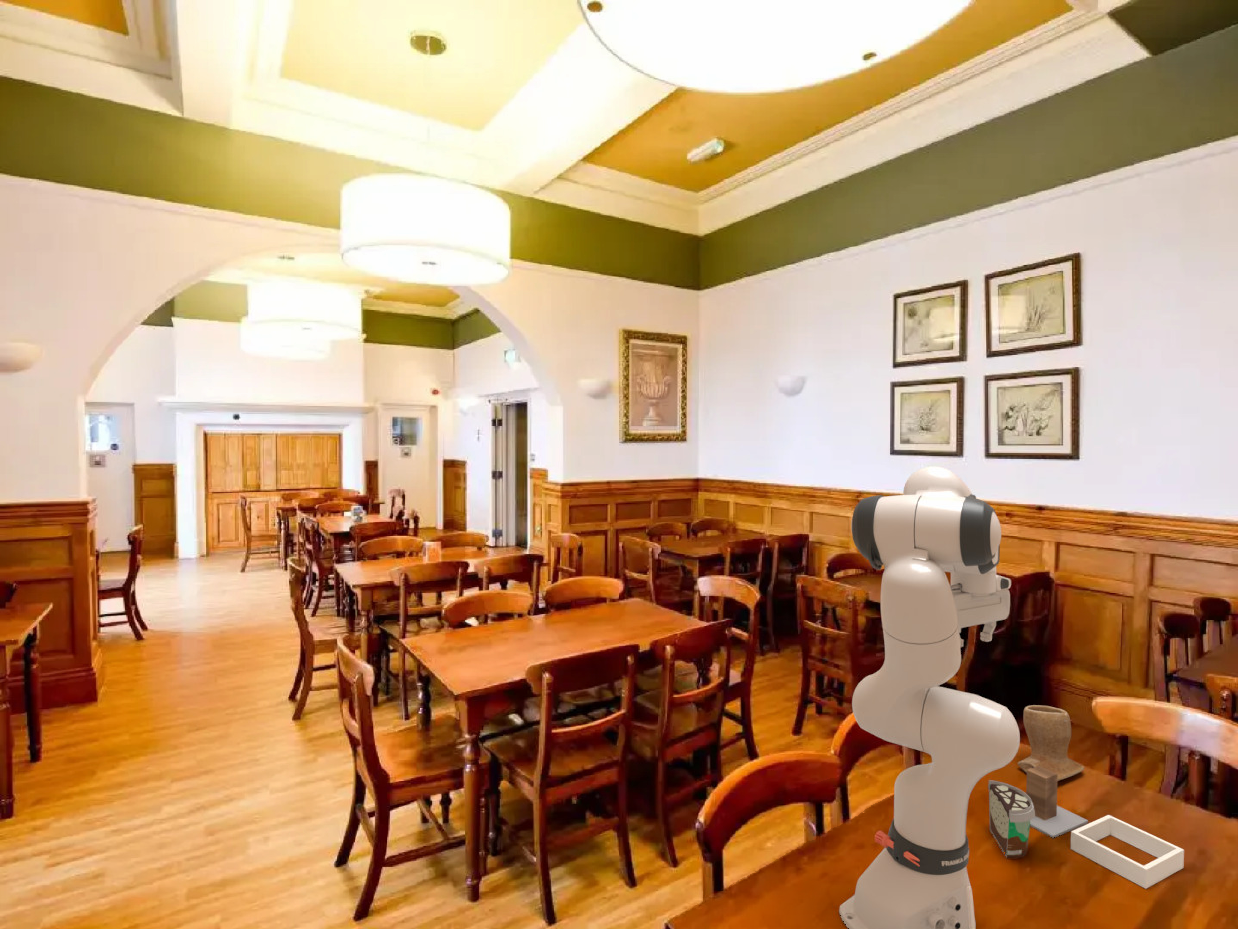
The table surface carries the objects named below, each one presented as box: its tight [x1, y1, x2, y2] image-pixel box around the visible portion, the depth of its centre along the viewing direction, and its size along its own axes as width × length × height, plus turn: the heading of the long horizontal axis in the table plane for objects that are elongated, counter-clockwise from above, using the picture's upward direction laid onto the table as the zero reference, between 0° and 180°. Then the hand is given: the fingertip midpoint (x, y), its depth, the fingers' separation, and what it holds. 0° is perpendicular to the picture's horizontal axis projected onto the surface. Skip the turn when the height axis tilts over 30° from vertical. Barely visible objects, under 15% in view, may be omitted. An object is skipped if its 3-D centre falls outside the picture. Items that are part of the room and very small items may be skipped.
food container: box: [987, 779, 1035, 860], centre depth 131 cm, size 12×6×10 cm, turn 168°
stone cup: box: [1017, 704, 1085, 782], centre depth 160 cm, size 15×12×15 cm
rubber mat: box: [1030, 805, 1089, 839], centre depth 141 cm, size 12×12×1 cm
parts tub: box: [1070, 814, 1185, 889], centre depth 127 cm, size 13×13×4 cm
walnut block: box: [1025, 766, 1058, 820], centre depth 141 cm, size 4×4×9 cm
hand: (972, 643), depth 146 cm, fingers open, 8 cm apart
